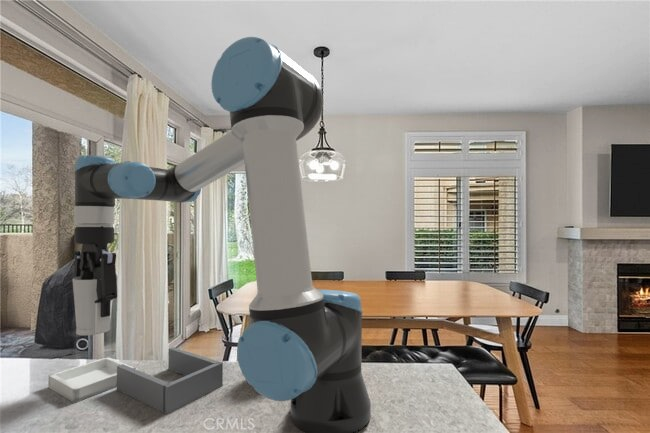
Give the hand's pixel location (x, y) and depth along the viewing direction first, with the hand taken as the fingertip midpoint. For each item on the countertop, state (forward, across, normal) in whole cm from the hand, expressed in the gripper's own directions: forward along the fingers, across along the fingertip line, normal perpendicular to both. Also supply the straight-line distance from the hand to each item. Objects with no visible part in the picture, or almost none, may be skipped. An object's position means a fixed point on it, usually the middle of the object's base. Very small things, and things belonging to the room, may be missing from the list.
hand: (93, 328), depth 78 cm
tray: (+12, 0, 0) cm, 12 cm away
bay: (+12, -16, -8) cm, 22 cm away
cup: (+1, 0, 0) cm, 1 cm away
